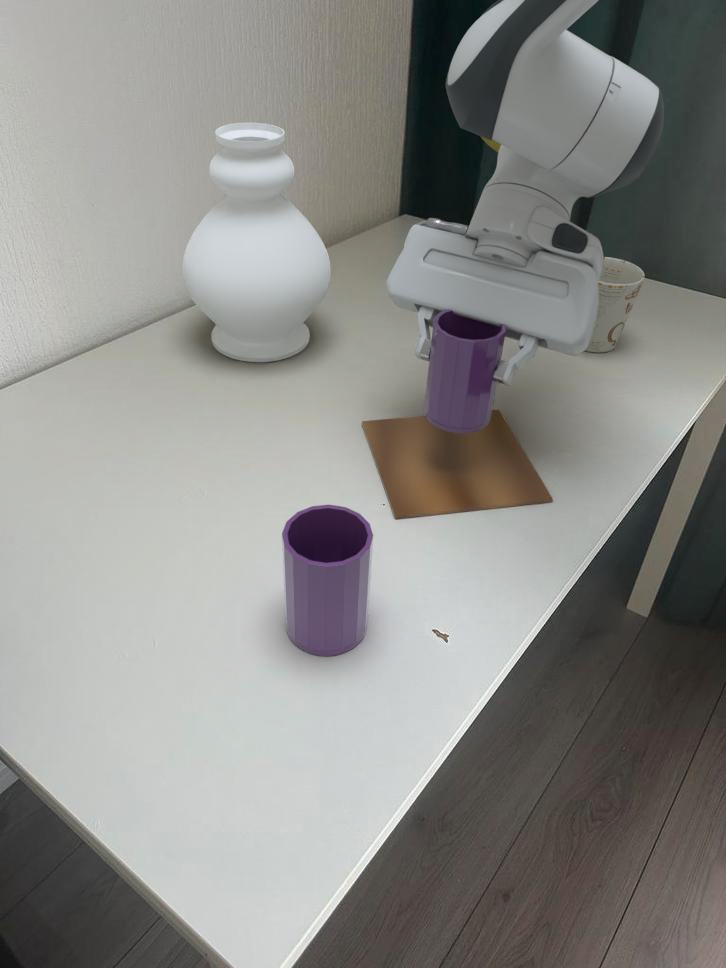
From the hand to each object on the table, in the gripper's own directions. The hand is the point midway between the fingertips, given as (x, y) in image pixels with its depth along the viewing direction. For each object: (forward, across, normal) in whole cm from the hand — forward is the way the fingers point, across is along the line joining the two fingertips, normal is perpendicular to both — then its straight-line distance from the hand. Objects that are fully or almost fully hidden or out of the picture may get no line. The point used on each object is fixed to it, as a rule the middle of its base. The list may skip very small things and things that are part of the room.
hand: (461, 370), depth 73 cm
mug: (-17, +4, +33) cm, 37 cm away
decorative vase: (0, -32, +16) cm, 36 cm away
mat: (+8, 0, +8) cm, 11 cm away
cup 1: (+26, 0, -10) cm, 27 cm away
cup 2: (+3, 0, +4) cm, 5 cm away
